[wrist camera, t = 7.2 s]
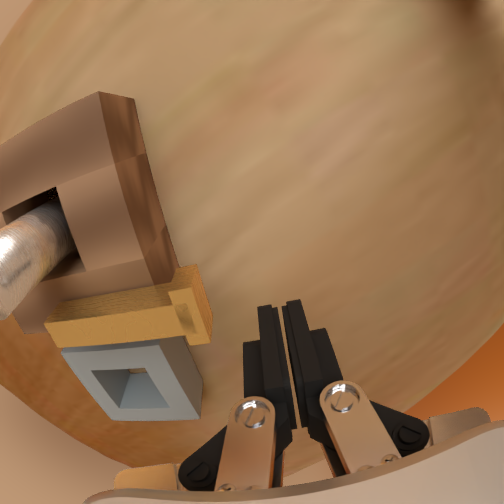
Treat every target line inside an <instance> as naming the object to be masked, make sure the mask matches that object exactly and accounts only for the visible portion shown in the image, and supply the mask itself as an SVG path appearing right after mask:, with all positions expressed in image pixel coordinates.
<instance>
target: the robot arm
mask: <svg viewBox="0 0 504 504" xmlns="http://www.w3.org/2000/svg"><path fill="white" fill-rule="evenodd" d="M286 304H287V305H286V306H282V312H283V319H284V325H285V332H286V339H287V345H288V352H289V358H290V364H291V369H292V375H293V381H294V386H295V392H296V397H297V403H298V409H299V415H300V420H301V426H302V428H303V427H307V428H308V433H309V434H310V438H312V439H314V440H316V441H318V442H320V445H321V448H322V450H323V453H324V455H325V458H326V460H327V462H328V465H329V467H330V470H331V472H332V475H333V477H334V478H331V479H326V480H322V481H316V482H311V483H305V484H299V485H293V486H285V487H282V486H283V473H284V459H285V448H286V447H287V446H288V445H289V444H290V443H291V442H292V441H293V440H292V429H297V424H296V417H295V411H294V404H293V397H292V390H291V384H290V378H289V372H288V366H287V360H286V354H285V349H284V343H283V337H282V331H281V326H280V320H279V314H278V309H277V307H275V308H272V306H271V305H265V306H259V307H257V308H258V320H259V332H260V340H256V341H250V342H243V371H244V399H241V400H240V401H238V402H237V403H236V404H235V405H234V406H233V407H232V409H231V412H230V415H229V420H228V425H226V426H225V427H224V428H223V429H222V430H221V431H220V432H218V433H217V434H216V435H215V436H214V437H213V438H211V439H210V440H209V441H208V442H207V443H205V444H204V445H203V446H202V447H201V448H199V449H198V450H197V451H196V452H195V453H193V454H192V455H191V456H190V457H188V458H187V459H186V460H185V461H184V462H183V463H181V464H174V463H168V464H162V465H156V466H148V467H140V468H131V469H125V470H122V471H121V472H119V473H118V474H117V475H116V477H115V478H114V490H108V491H104V492H100V493H97V494H95V495H92V496H90V497H89V498H87V499H86V500H85V501H84V503H83V504H504V420H500V421H494V422H491V421H490V417H489V415H488V413H487V412H486V411H485V410H484V409H481V408H478V407H476V408H470V409H466V410H462V411H457V412H453V413H448V414H443V415H439V416H433V417H429V419H428V420H423V421H421V420H420V419H418V418H415V417H412V416H409V415H406V414H404V413H401V412H398V411H396V410H393V409H390V408H388V407H385V406H383V405H380V404H377V403H375V402H372V401H370V400H369V399H368V398H367V396H366V394H365V393H364V391H363V389H362V388H361V387H360V386H359V385H357V384H356V383H354V382H351V381H344V380H343V377H342V374H341V371H340V368H339V365H338V362H337V359H336V356H335V353H334V351H333V348H332V345H331V342H330V339H329V336H328V333H327V331H326V329H325V328H322V329H317V330H312V331H309V328H308V324H307V321H306V317H305V314H304V310H303V307H302V304H301V300H300V299H298V300H293V301H288V302H286Z"/></svg>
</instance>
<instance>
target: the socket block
mask: <svg viewBox="0 0 504 504" xmlns="http://www.w3.org/2000/svg"><path fill="white" fill-rule="evenodd" d="M53 187H56V188H57V192H58V195H59V198H60V202H61V205H62V208H63V211H64V214H65V217H66V220H67V222H68V225H69V228H70V231H71V234H72V236H73V239H74V242H75V244H76V248H74V249H73V250H72V251H71V252H70V253H69V254H68V255H67V256H66V257H65V258H64V259H63V260H61V261H60V262H59V263H58V264H57V265H56V266H55V267H54V268H53V269H52V270H51V271H50V272H49V273H48V274H47V275H46V276H45V277H44V278H43V279H42V280H41V281H40V282H39V283H38V284H37V285H36V286H35V287H34V288H33V289H32V291H31V292H30V293H29V294H28V295H27V296H26V297H25V298H24V299H23V300H22V301H21V302H20V303H19V305H18V306H17V307H16V308H15V309H14V310H13V311H12V313H13V315H14V317H15V319H16V321H17V322H18V324H19V326H20V327H21V329H22V331H23V332H24V334H32V333H44V332H48V330H47V329H46V327H45V325H44V322H45V321H46V320H47V318H48V317H49V316H50V314H51V313H52V312H53V310H54V309H55V308H56V307H57V305H58V304H59V303H60V302H65V301H71V300H76V299H82V298H88V297H93V296H99V295H105V294H110V293H116V292H121V291H127V290H132V289H138V288H143V287H148V286H154V285H159V284H164V283H170V282H171V281H172V279H173V276H174V273H175V270H176V268H180V267H179V264H178V261H177V258H176V255H175V252H174V249H173V246H172V243H171V240H170V236H169V233H168V230H167V227H166V223H165V220H164V217H163V213H162V210H161V206H160V203H159V199H158V196H157V192H156V189H155V185H154V181H153V178H152V174H151V170H150V166H149V162H148V158H147V154H146V150H145V146H144V142H143V138H142V134H141V129H140V125H139V121H138V116H137V111H136V107H135V102H134V99H132V98H128V97H123V96H119V95H114V94H109V93H104V92H99V91H98V92H96V93H93V94H91V95H89V96H87V97H85V98H82V99H80V100H78V101H76V102H74V103H72V104H70V105H68V106H66V107H64V108H62V109H60V110H58V111H56V112H55V113H53V114H51V115H49V116H47V117H45V118H44V119H42V120H40V121H38V122H37V123H35V124H33V125H32V126H30V127H28V128H27V129H25V130H23V131H22V132H20V133H19V134H17V135H15V136H14V137H12V138H11V139H9V140H8V141H6V142H5V143H3V144H2V145H1V146H0V229H1V228H3V227H4V226H6V225H8V224H9V223H11V222H13V221H14V220H16V219H18V218H19V217H21V216H23V215H25V214H26V213H28V212H30V211H32V210H33V209H35V208H37V207H39V206H41V205H42V204H44V203H46V202H48V201H49V200H48V196H47V193H46V190H49V189H51V188H53Z"/></svg>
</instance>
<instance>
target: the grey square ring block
mask: <svg viewBox="0 0 504 504" xmlns="http://www.w3.org/2000/svg"><path fill="white" fill-rule="evenodd" d="M61 354H62V356H63V357H64V359H65V360H66V362H67V363H68V364H69V366H70V367H71V369H72V370H73V372H74V373H75V374H76V376H77V377H78V378H79V380H80V381H81V382H82V384H83V385H84V386H85V388H86V389H87V390H88V392H89V393H90V394H91V395H92V397H93V398H94V399H95V400H96V402H97V403H98V404H99V405H100V406H101V408H102V409H103V410H104V411H105V412H106V413H107V415H108V416H109V417H110V418H111V419H112V420H120V421H171V420H191V419H200V416H201V402H202V390H203V380H202V378H201V376H200V374H199V372H198V369H197V367H196V365H195V363H194V361H193V359H192V356H191V354H190V352H189V350H188V348H187V345H186V343H185V341H184V338H183V336H175V337H168V338H160V339H152V340H144V341H135V342H125V343H115V344H105V345H93V346H79V347H64V348H63V350H62V352H61ZM133 368H145V369H146V371H147V372H148V373H134V374H130V372H129V371H128V369H133Z"/></svg>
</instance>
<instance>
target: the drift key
mask: <svg viewBox="0 0 504 504" xmlns="http://www.w3.org/2000/svg"><path fill="white" fill-rule="evenodd" d="M212 322H213V314H212V311H211V308H210V305H209V302H208V299H207V296H206V293H205V290H204V287H203V283H202V280H201V277H200V274H199V271H198V267H197V264H195V265H190V266H185V267H180V268H176V270H175V273H174V276H173V279H172V281H171V282H170V283H164V284H159V285H154V286H148V287H143V288H138V289H132V290H127V291H121V292H116V293H110V294H105V295H99V296H93V297H88V298H82V299H76V300H71V301H65V302H60V303H59V304H58V305H57V307H56V308H55V309H54V310H53V312H52V313H51V314H50V316H49V317H48V318H47V320H46V321H45V322H44V325H45V327H46V329H47V330H48V332H49V334H50V335H51V337H52V339H53V340H54V342H55V343H56V345H57V347H58V348H63V347H79V346H93V345H105V344H115V343H125V342H135V341H144V340H152V339H160V338H168V337H175V336H182V335H185V336H186V338H187V340H188V343H189V345H190V346H192V345H199V344H206V343H211V334H212Z"/></svg>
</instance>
